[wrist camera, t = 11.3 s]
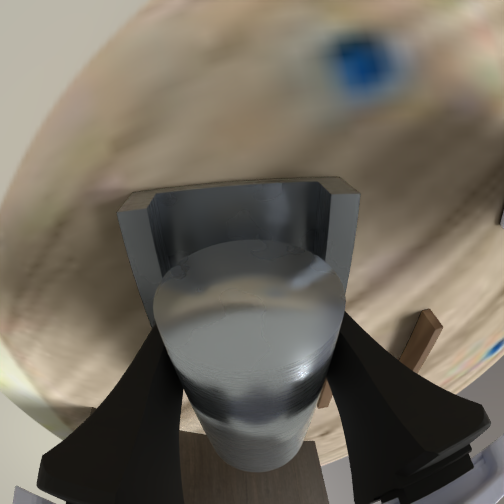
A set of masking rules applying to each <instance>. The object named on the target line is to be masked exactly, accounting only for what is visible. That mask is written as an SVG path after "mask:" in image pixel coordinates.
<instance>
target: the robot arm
mask: <svg viewBox="0 0 504 504" xmlns="http://www.w3.org/2000/svg"><path fill="white" fill-rule="evenodd" d="M501 227H502V228H503V229H504V211H503V215H502V219H501ZM326 378H327V381H328V384H329V386H330V389H331V392H332V394H333V397H334V400H335V402H336V405H337V408H338V411H339V414H340V417H341V422H342V426H343V430H344V435H345V439H346V445H347V450H348V455H349V461H350V468H351V474H352V483H353V493H354V502H355V504H372V503H375V502H377V501H380V500H381V502H382V504H496V503H497V502H498V501H499V500H500V499H501V498H502V497H503V496H504V434H503V435H502V436H500V437H499V438H498V439H496V440H495V441H494V442H492V443H491V444H490V445H489V446H488V447H486V448H484V449H483V450H482V451H481V452H479V453H478V454H477V455H475V456H473V457H472V458H470V456H469V452H471V450H472V448H471V446H470V443H471V442H472V441H474V440H475V439H476V438H477V437H478V436H480V435H481V434H482V433H483V432H484V431H485V430H487V429H488V428H489V427H490V425H491V421H490V419H489V417H488V415H487V414H486V412H485V410H484V408H483V406H482V405H481V404H478V403H476V402H473V401H470V400H467V399H465V398H462V397H459V396H457V395H455V394H453V393H451V392H449V391H447V390H444V389H443V388H441V387H439V386H437V385H435V384H433V383H432V382H430V381H428V380H427V379H425V378H423V377H421V376H420V375H418V374H417V373H415V372H414V371H412V370H411V369H410V368H408V367H407V366H405V365H404V364H403V363H401V362H400V361H399V360H397V359H396V358H395V357H393V356H392V355H391V354H390V353H389V352H387V351H386V350H385V349H384V348H383V347H382V346H381V345H379V344H378V343H377V342H376V341H375V340H374V339H373V338H372V337H371V336H370V335H369V334H368V333H366V332H365V331H364V330H363V329H362V328H361V327H360V326H359V325H358V324H357V323H356V322H355V321H354V320H353V319H352V318H351V317H350V316H349V315H348V314H347V313H346V312H345V311H344V315H343V319H342V323H341V327H340V331H339V334H338V338H337V342H336V345H335V349H334V352H333V356H332V359H331V362H330V366H329V369H328V372H327V375H326ZM182 397H183V386H182V384H181V382H180V380H179V378H178V375H177V373H176V371H175V369H174V366H173V364H172V362H171V359H170V357H169V354H168V352H167V350H166V347H165V345H164V342H163V340H162V337H161V335H160V332H159V329H158V327H157V324H156V323H155V324H154V326H153V328H152V330H151V332H150V333H149V335H148V337H147V338H146V340H145V342H144V344H143V345H142V347H141V349H140V350H139V352H138V353H137V355H136V357H135V358H134V360H133V361H132V363H131V364H130V366H129V367H128V369H127V370H126V372H125V373H124V375H123V376H122V378H121V379H120V380H119V382H118V383H117V385H116V386H115V387H114V389H113V390H112V391H111V392H110V394H109V395H108V396H107V397H106V399H105V400H104V401H103V402H102V403H101V404H100V406H99V407H98V408H97V409H96V410H95V411H94V412H93V413H92V414H91V415H90V416H89V417H88V419H87V420H86V421H85V422H83V423H82V424H81V425H80V426H79V427H78V428H77V429H76V430H75V431H74V432H72V433H71V434H70V435H69V436H68V437H67V438H66V439H64V440H63V441H62V442H61V443H59V444H58V445H57V446H55V447H54V448H53V449H51V450H50V451H48V452H47V453H45V454H44V455H43V456H42V459H41V463H40V468H39V473H38V479H37V487H38V488H39V489H40V490H42V491H44V492H46V493H48V494H50V495H53V496H55V497H57V498H60V499H62V500H64V501H66V504H185V503H184V497H183V489H182V479H181V468H180V450H179V425H180V415H181V406H182ZM13 504H55V503H53V502H51V501H49V500H46V499H44V498H42V497H40V496H38V495H35V494H33V493H31V492H29V491H27V490H25V489H23V488H21V487H19V486H15V491H14V499H13Z"/></svg>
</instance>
